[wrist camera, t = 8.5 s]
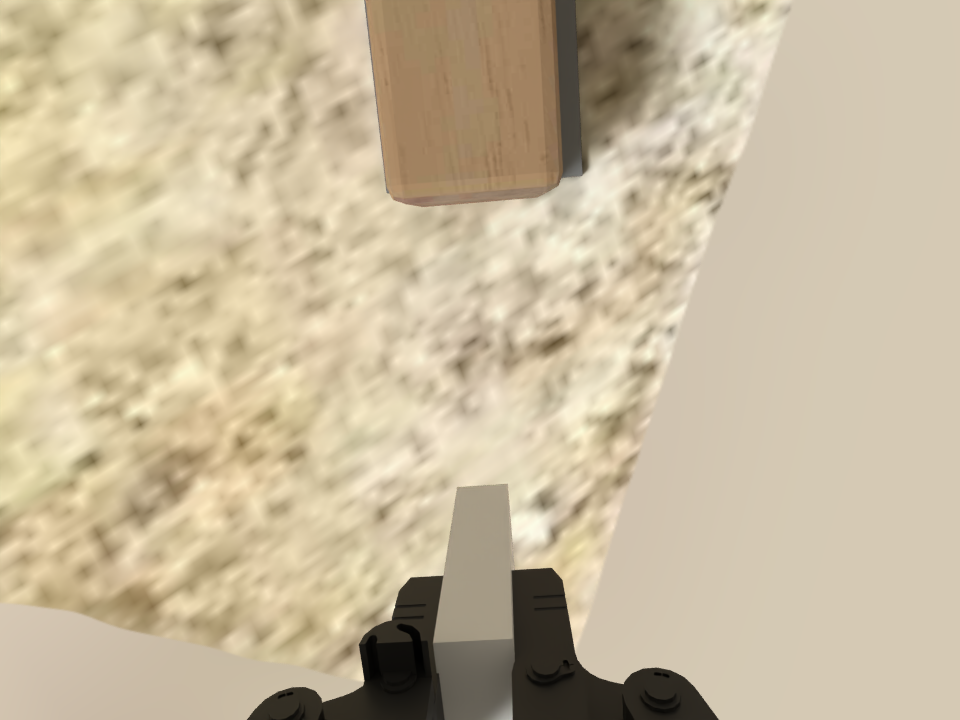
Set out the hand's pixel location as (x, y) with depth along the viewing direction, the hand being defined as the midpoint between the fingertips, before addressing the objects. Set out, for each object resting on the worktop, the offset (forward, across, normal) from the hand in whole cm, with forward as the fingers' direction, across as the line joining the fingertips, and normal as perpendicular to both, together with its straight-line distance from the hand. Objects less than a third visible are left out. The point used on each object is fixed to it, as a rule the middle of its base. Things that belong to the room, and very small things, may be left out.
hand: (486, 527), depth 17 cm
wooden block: (+23, 0, +10) cm, 25 cm away
